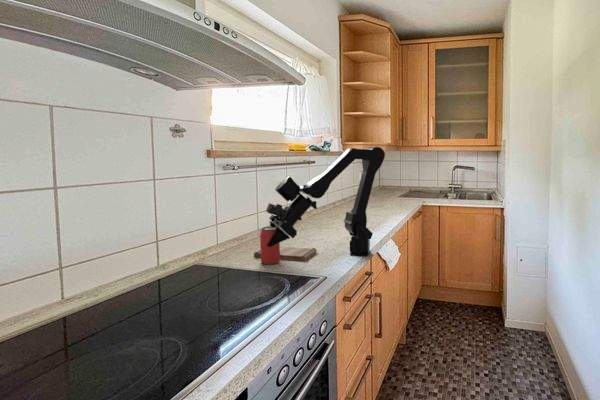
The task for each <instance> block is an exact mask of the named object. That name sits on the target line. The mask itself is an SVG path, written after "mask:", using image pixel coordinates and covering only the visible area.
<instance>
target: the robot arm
mask: <svg viewBox="0 0 600 400" xmlns="http://www.w3.org/2000/svg"><path fill="white" fill-rule="evenodd" d="M385 158H386V153H385V151H384V149H383V148H381V146H380V147H379V146H369V147H366V148H354V147H349V148H346V149H345V151H344V152H343V153H342V154H341V155H340V156H339V157H338V158H337V159H336V160H335V161H334V162H333V163H332V164H331V165H330V166H329V167H328V168H327V169H326V170H325V171H324V172H322V173H321V174H319V175H317V176H315V177H314V178H313V179H311V180H310V181H308V182H307V183H306V184H304V185H298V184H297V182H295V181H294V179H293V178H292V177H291V176H287V177H286V178H285V179H283V180H282V181H280V183H278V184H277V186H276V187H275V192H276V193H277V194H278V195H280V196H281V197H282V198H283V199H284V200H285V201H286V202H289V201H291V203H290V205H288V206H287V205H286V206H284V208H283V205H281V204H279V203H276V204H273V203H271V202H269V203H268V205H267V207H266V210H265V212H267V213H268V214H270V215H271V216H270V217H269V218H268V219H269V227H276V232H275V233H274V235H273V236H272V238H271V239H270V241H269V242H268V244H267V246H268V247H271V246H273V245H275V244H277V243H279V242H280V243H281V242H284V241H287V240H290V239H294V238H295V237H296V236H297V233H298V232H297V231H298V230H297V229H296V228H295V227H294V226H295V225H296V223H297V222H298V221H299V222H300V221H302V219H303V218H302V217H303V215H304V214H305V213H306V212H307V211H308V210H309V209H310V208H312V209H313V210H317V209H318V208H317V201H316V200H312V199H313V198H314V199H320V198H322V197H324V195H325V194H326V192H327V191H328V190H329V187H330V186H331V184H332V182H333V181H334V180H335V179H337V177H339V175H340V174H342V173H343V171H345V170H346V169H347V168H348V167H349V166H350V165H351V164H352V162H354V161H355V160H361V164H362V173H361V176H360V177H361V178H360V181H359V185H358V189H357V191H356V195H355V199H354V203H353V204H354V205H353V207H352V209H351V210H350V211H346V212H345V216H344V217H345V218H344V220H343V223H344V228H345V229H346V231H347V232H348V233H349V236H351V237H350V241H349V255H350V256H363V257H368V256H369V255H370V253H371V252H372V250H370V249H371V248H370V246H371V244H370V243H371V242H370V241H371V239H372V237H373V232H372V231H371V230H370V229H369V228H368V227H367V223H368V219H367V218H368V217H367V209H368V204H369V201H370V196H371V193H372V189H373V185H374V181H375V178H376V174H377V172H378V171H379V169H380V168H381V167H382V164H383V162H384V160H385ZM303 194H305V196H304V195H303ZM311 198H312V199H311Z"/></svg>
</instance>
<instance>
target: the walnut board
mask: <svg viewBox="0 0 600 400" xmlns="http://www.w3.org/2000/svg"><path fill="white" fill-rule="evenodd" d="M317 253H318V252H317V248H315V247H313V248H312V247H311V248H308V247H307V248H305V247H293V246H292V247H291V246H280V260H288V261H289V260H290V261H301V262H306V261H308V260H309V259H310V258H311V257H313V256H314V255H316V254H317ZM253 257H254V258H261V249H259V250H257V251H255V252H253Z"/></svg>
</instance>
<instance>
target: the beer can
mask: <svg viewBox="0 0 600 400" xmlns="http://www.w3.org/2000/svg"><path fill="white" fill-rule="evenodd" d="M275 232H276V227H270V226H264V227H262V228H261V230H260V234H259V241H260V245H259V246H260V250H261V257H260V262H261V263H262V264H263V265H275V264H276V265H277V264H278V263H280V261H281V259H280V247H281V245H280V243H281V242H279V243H277V244H275V245H273V246H271V247H268V246H267V244H268V242H269V241H270V239H271V238H272V236H273V235H274V233H275Z"/></svg>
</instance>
